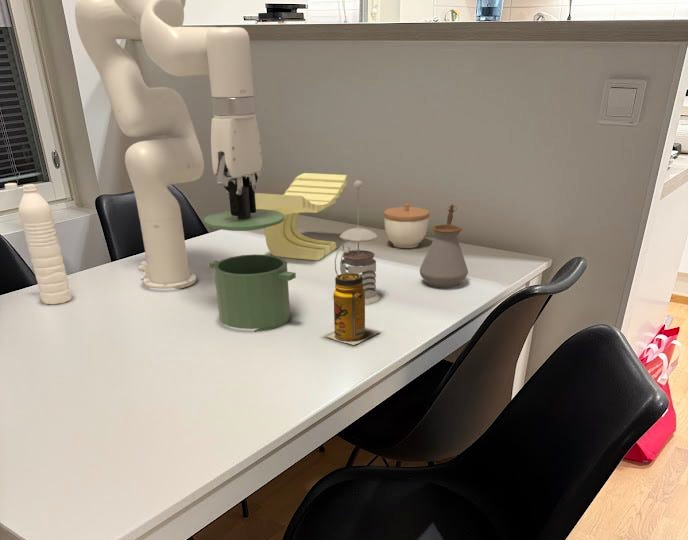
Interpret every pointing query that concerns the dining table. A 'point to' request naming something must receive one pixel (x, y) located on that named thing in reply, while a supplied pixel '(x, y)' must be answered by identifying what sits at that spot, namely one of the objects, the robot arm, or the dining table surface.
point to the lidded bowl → (406, 225)
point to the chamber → (253, 291)
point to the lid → (244, 218)
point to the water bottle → (43, 245)
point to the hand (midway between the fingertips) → (243, 213)
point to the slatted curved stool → (299, 197)
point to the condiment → (350, 310)
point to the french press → (360, 257)
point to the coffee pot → (444, 257)
